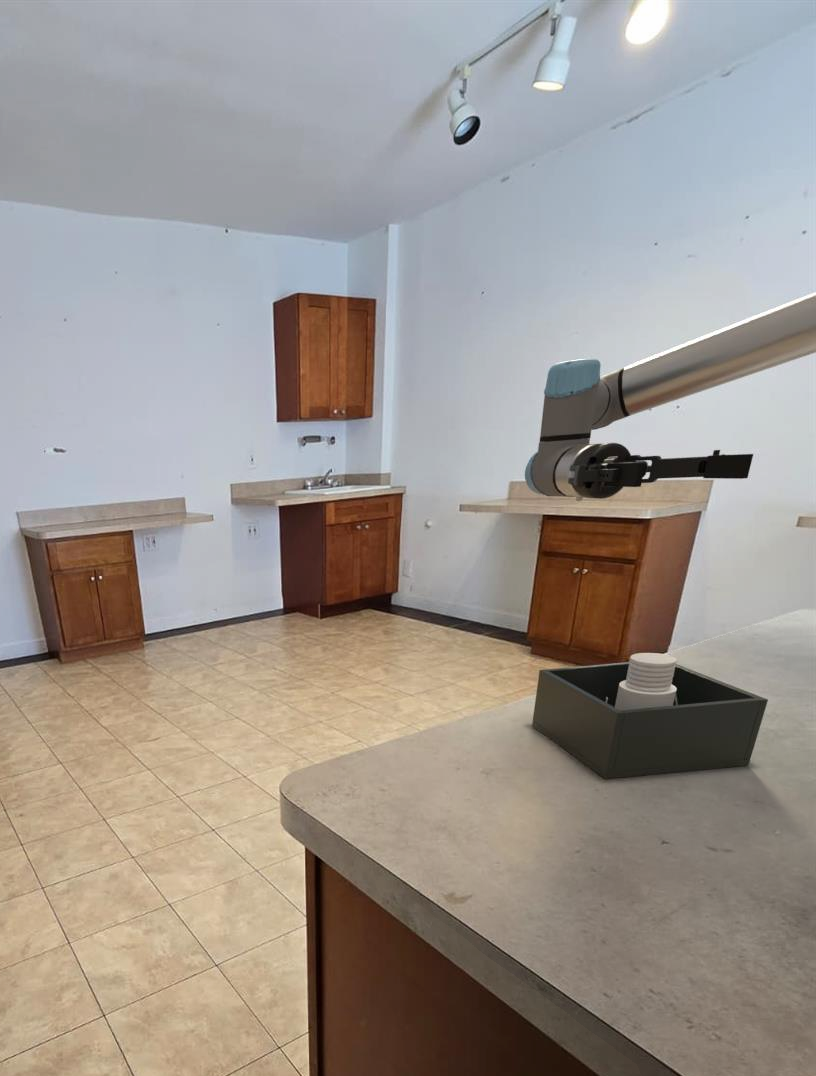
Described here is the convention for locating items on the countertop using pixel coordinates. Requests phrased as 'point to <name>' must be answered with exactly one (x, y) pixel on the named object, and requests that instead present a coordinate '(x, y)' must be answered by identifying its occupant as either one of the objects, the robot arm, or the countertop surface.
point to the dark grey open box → (646, 722)
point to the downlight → (647, 682)
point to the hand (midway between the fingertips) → (694, 470)
